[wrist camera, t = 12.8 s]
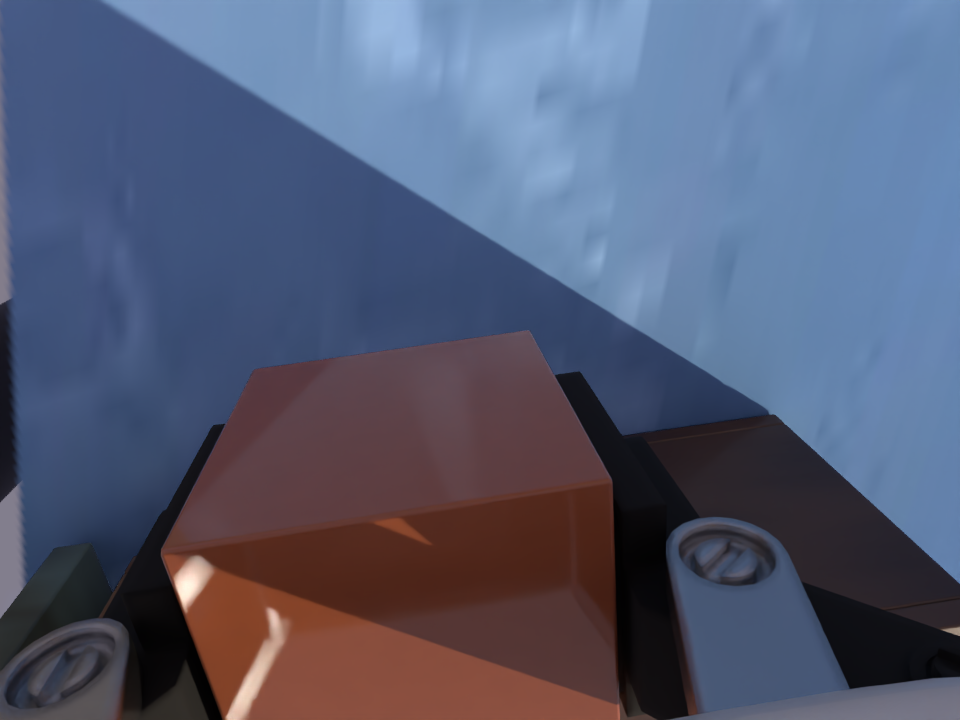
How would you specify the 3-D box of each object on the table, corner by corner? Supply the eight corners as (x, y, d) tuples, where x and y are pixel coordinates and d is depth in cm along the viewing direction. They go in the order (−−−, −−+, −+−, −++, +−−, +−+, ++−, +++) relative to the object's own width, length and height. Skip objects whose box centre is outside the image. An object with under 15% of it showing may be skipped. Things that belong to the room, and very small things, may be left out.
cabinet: (408, 709, 26) (407, 1014, 18) (358, 472, 22) (322, 727, 13) (754, 654, 27) (914, 922, 18) (775, 413, 22) (1000, 619, 14)
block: (311, 587, 12) (266, 844, 8) (252, 368, 10) (157, 551, 6) (548, 548, 12) (623, 776, 8) (530, 328, 11) (614, 478, 7)
